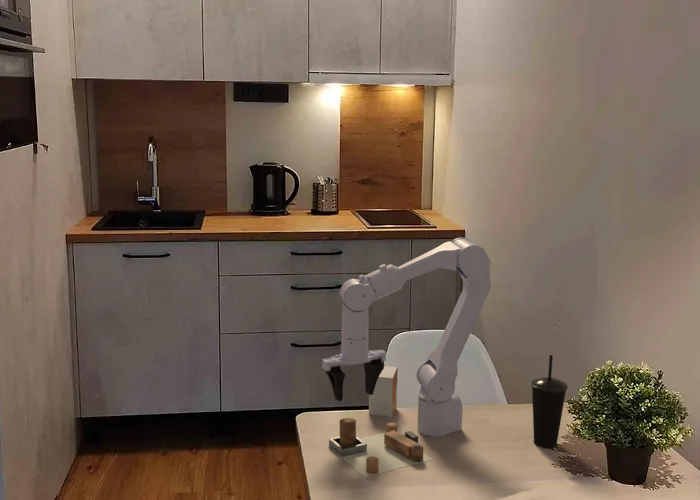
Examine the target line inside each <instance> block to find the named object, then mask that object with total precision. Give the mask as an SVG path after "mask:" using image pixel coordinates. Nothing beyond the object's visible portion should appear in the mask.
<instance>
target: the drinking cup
mask: <svg viewBox="0 0 700 500" xmlns="http://www.w3.org/2000/svg"><path fill="white" fill-rule="evenodd" d="M553 357H554V355H551V354H550V355H549V358H548V372H547V376H542V377H541V376H540V377H539V378H534V379H532V380H531V382H530V386H531V388H532V389H531V392H532V393H531V394H532V395H531V396H532V423H533V425H532V427H533V428H532V429H533V443H534V445H535V446H537V447H539V448H543V449H552V448H556V447H557V445H558V444H557V443H558V438H559V434H560V428H561V427H560V426H561V421H562V416H563V410H564V403H565V397H566V392H567V390H568V387H569V386H568V384H567V383H566V382H565V381H563V380H560V379H559V378H556V377H553V375H552V372H553V371H552V370H553V359H554V358H553Z"/></svg>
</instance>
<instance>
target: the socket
mask: <svg viewBox="0 0 700 500" xmlns="http://www.w3.org/2000/svg"><path fill="white" fill-rule="evenodd" d="M329 446H330V447H331V448H332V449H333V451H334V452H335V451H336V452H337V453H338V454H339V455H338V454H337V453H336V452H335V453H336V454H337V455H338V456H339V457H341V456H342V457H345V456H349V455H353V454H357V453H361V452H365V451H367V444H366V443H365V442H364V441H362V440H361V439H360V437H358V436H357V435H356V445H354V446H350V447H346V448H343V447H342V446H340V435H339V436H335V437H331V438H328V447H329ZM330 447H329V448H330ZM331 448H330V449H331ZM332 449H331V450H332ZM342 457H341V458H342Z"/></svg>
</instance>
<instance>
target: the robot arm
mask: <svg viewBox="0 0 700 500" xmlns="http://www.w3.org/2000/svg"><path fill="white" fill-rule="evenodd" d="M491 264H492V261H491V259H490V257H489V256H488V254H487V252H486V250H485V249H484V248H483V247H481V246H480V245H477V244H475V243H474V242H472V241H471V240H470V239H469V238H466V237H457V238H454V239H453V240H451V241H450V240H449V241H445V242H444V243H442V244H440V245H439V246H437V247H434V248H433V249H431V250H429V251H427V252H425V253H423V254H421V255H419V256H417V257H415V258H413V259H411V260H409V261H407V262H405V263H403V264H402V265H399V266H398V265H397V266H396V265H394V264H391V263H390V264H387V265H386V264H385V263H383V264H380V265H379V267H378V268H379V269H377V270H373V271H372V272H370V273H368V274H365V275H364V274H360V275H359V276H358V278H356V279H355V278H350V279H348V280H346V281H345V282H344V283H343V284H342V285H341V287H340V290H339V293H338V294H339V297H340V299H341V301H342V308H341V310H342V313H341V343H340V344H341V349H340V350H341V352H340V354H337V355H334V356H331V357H328V358H323V359H321V360H322V361H321V363H322V364H321V365H322V366H321V369H323V370H324V371H325V374H326V375H327V376H328V380H329V382H330V384H331V387H332V391H333V396H334V400H336V401H337V402H343V398H344V393H343V391H344V390H343V389H344V380H345V377H346V373H345V372H343V371H342V368H344V367H349V366H350V367H351V366H355V365H359V364H360V365H361V364H363V366H364V367H363V368H364V375H365V376H364V377H365V379H364V380H365V381H364V385H365V386H364V387H365V388H364V389H365V393H366V394H368V396H369V395H373V392H374V389H375V385H376V382H377V380H378V377H379V375H380V374H381V372H382V370H383V369H384V366H385V363H384V362H385V361H387V352H386V351H384V350H383V349H375V350H369V323H370V322H369V321H370V320H369V318H370V316H369V307H370V306H371V305H372V302H375V301H377V300H378V301H379V299H383V298H384V297H387V296H389V295H391V294H393V293H395V292H398V291H399V290H402V288H403V286H404V284H405V282H407V281H409V280H411V279H414V278H417V277H419V276H421V275H424V274H427V273H429V272H433V271H434V270H438V269H445V270H450V271H454V272H455V271H458V274H459V275H460V277H461V280H462V282H463V285H464V287H463V288H462V291H461V293H460V295H459V298H458V299H457V302H456V304H455V306H454V309H453V311H452V313H451V315H450V318H449V320H448V322H447V324H446V326H445V329H444V331H443V332H442V335H441V337H440V340H439V341H438V344H437V346H436V348H435V350H433V351H432V352H430V353H429V354H428V356H427V358H426V360H424V361H423V363H422V364H420V365H419V366H418V369H417V371H416V379H417V382H418V383H419V385H421V386H420V389H419V391H418V396H417V397H418V401H417V427H416V428H417V432H418V433H420V434H422V435H425V436H428V437H435V438H437V437H443V436H447V435H449V434H451V433H454V432H455V433H456V432H458V431H461V430H462V429H463V427H462V425H463V403H462V400H461V398H460V397H459V395H458V394H457V393H455V391H456V380H457V376H458V373H459V372H458V361H459V359H460V357H461V355H462V353H463V350H464V349H465V346H466V344H467V341H468V339H469V337H470V334H471V333H472V330H473V329H474V326H475V323H476V322H477V320H478V317H479V315H480V313H481V311H482V309H483V307H484V304H485V302H486V300H487V298H488V295H489V293H490V292H491V287H492V281H491V279H492V278H491V268H490V267H491Z"/></svg>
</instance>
